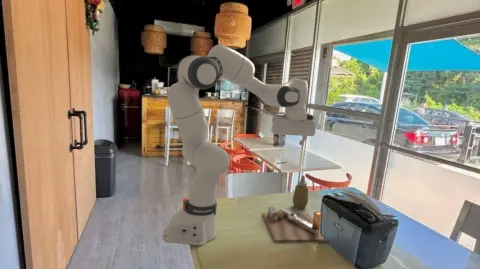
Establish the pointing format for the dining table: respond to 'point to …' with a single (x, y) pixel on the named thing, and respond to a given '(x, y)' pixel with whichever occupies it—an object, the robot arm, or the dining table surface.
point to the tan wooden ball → (280, 214)
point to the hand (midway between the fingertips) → (291, 144)
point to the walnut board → (289, 228)
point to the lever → (310, 227)
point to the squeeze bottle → (301, 194)
